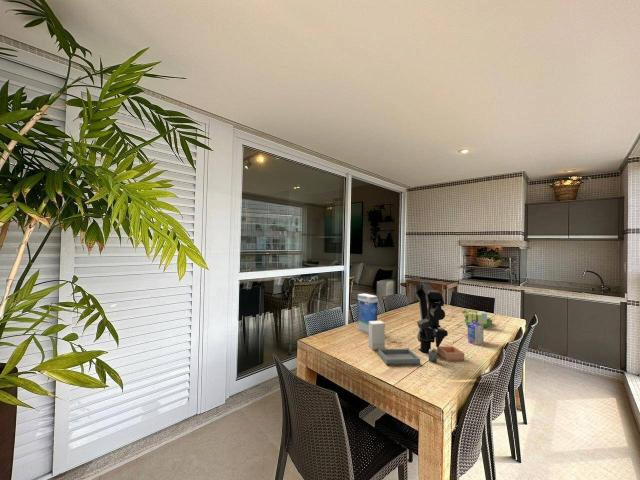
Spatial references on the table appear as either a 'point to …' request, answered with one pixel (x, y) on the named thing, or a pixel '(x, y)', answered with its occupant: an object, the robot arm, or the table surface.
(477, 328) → the ink cartridge box
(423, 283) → the robot arm
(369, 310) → the blue white lidded canister
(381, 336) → the skincare box
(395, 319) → the table surface
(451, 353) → the bin
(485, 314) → the toy landscape diorama
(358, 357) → the table surface
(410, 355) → the tray
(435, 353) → the battery cell
